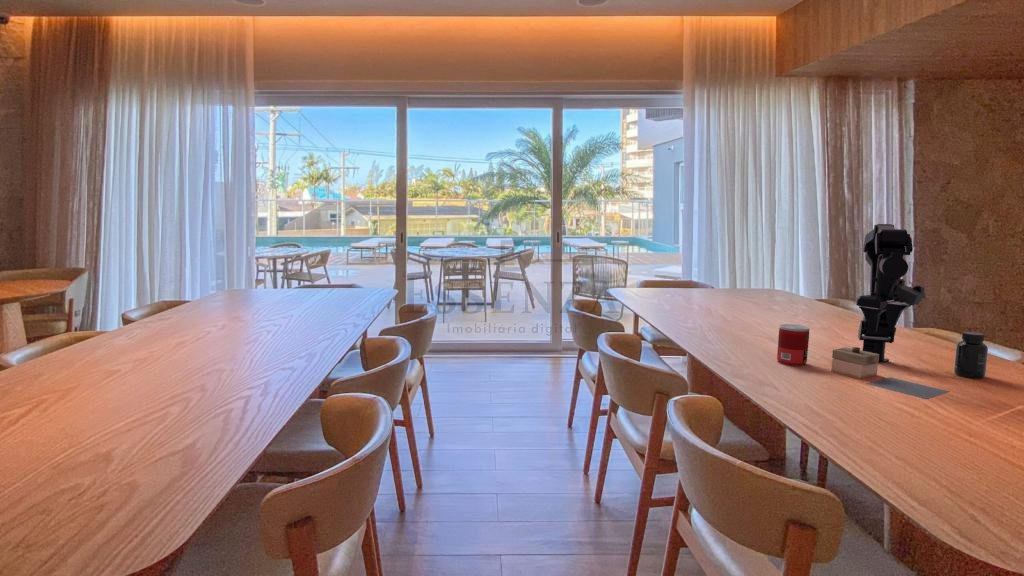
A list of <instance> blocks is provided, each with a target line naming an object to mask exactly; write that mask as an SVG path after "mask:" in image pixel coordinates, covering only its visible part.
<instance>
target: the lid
mask: <svg viewBox="0 0 1024 576" xmlns="http://www.w3.org/2000/svg"><path fill="white" fill-rule="evenodd" d="M831 355H832V357H831V358H832V359H838V360H842V361H846V362H850V363H855V364H859V365H863V366H867V365H872V364H876V363H878V364H880V363H879V354H875V353H871V352H866V351H862V349H861V347H858V346H852V348H851V347H848V346H847V347H841V348H836V349H832V354H831Z"/></svg>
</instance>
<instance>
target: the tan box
mask: <svg viewBox="0 0 1024 576" xmlns="http://www.w3.org/2000/svg"><path fill="white" fill-rule="evenodd" d="M878 367H879V363H876V364H872V365H867V366H863V365H859V364H855V363H850V362H846V361H842V360H838V359H833V358H832V359H831V371H830V372H831V373H835V374H839V375H842V376H847V377H850V378H855V379H859V380H863V379H867V378H870V377H875V376H877V374H878Z"/></svg>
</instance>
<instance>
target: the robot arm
mask: <svg viewBox="0 0 1024 576" xmlns="http://www.w3.org/2000/svg"><path fill="white" fill-rule="evenodd" d="M863 240H864V241H863V245H862V246H863V247H862V252H863V253H865V254H864V257H865V258H864V259H865V261H866V262H867V264H868V265H869V266H870V274H869V275H870V276H869V277H870V278H869V279H870V280H869V294H864V295H859V296H858V297H857V298H856V304H855V305H856V306H858V309H860V310H861V312H862V314H863V318H862V319H861V320H860V323H859V327H858V331H857V332H858V333H857V338H858V340H859V341H863V343H862V349H861V351H866V352H871V353H875V354H879V363H878V364H880V363H886V362H887V363H888V362H890V359H888V358H885V352H886V344H893V343H894V342H895V335H896V333H897V332H896V331H897V328H896V325H897V323H898V321H899V319H900V317H901V314H903V311H905V310H907V309H908V308H910V307H912V306H915V305H919V304H921V301H922V300H924V299H926V296H925V295H926V293H925V287H924V286H922V285H915V286H913V287H912V286H908V285H906V284H905V283H906V281H905V279H904V278H902V277H905V275H907V273H908V271H909V264H908V262H907V261H906V260H905V259H904V256H911V253H913V249H914V248H913V238H912V237H911V234H910V233H908V230H907V229H903V228H899V229H898V228H895V225H894V224H891V223H877V224H874V225H873V229H872V230H870V231H869V232H868V233H866V234H865V236H864V239H863Z"/></svg>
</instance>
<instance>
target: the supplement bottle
mask: <svg viewBox="0 0 1024 576" xmlns="http://www.w3.org/2000/svg"><path fill="white" fill-rule="evenodd" d="M985 335H986V334H984V333H981V332H974V331H962V334H961V341H959V342H957V344H956V347H955V358H954V359H955V360H954V368H953V369H954V370H953V373H954V375H956V374H957V375H956V376H958V375H959V376H958V377H962V376H963V378H966V377H969V378H968V379H975V378H981V379H984V378H985V377H986V372H987V364H988V363H987V361H988V353H989V352H988V351H989V347H988V345H986V344H985V343H984V342H985V337H986V336H985Z"/></svg>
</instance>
